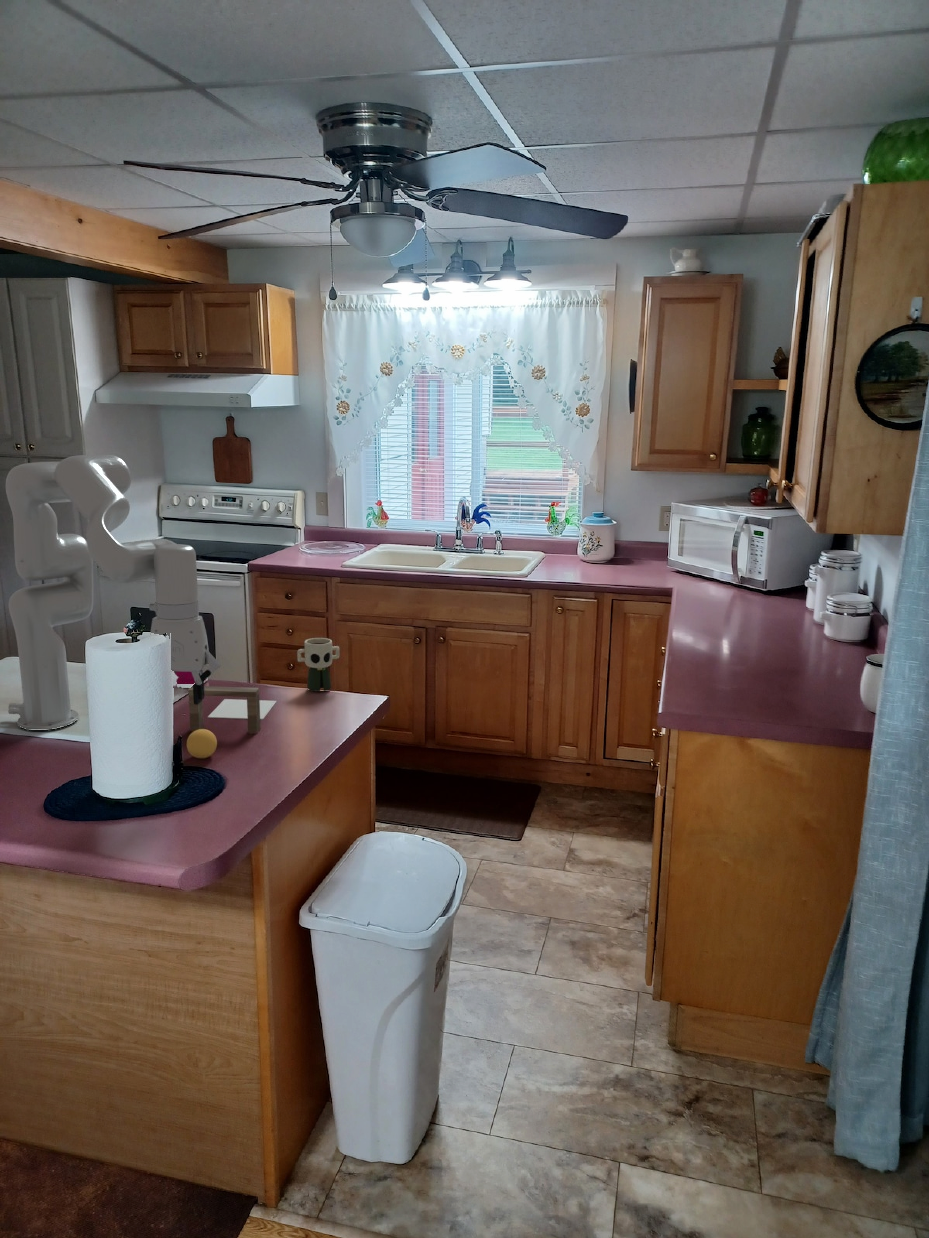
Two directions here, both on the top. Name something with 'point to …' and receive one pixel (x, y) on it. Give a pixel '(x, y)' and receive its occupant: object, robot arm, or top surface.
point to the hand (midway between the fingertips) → (182, 701)
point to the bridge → (250, 693)
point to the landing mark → (239, 709)
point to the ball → (201, 743)
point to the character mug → (318, 662)
